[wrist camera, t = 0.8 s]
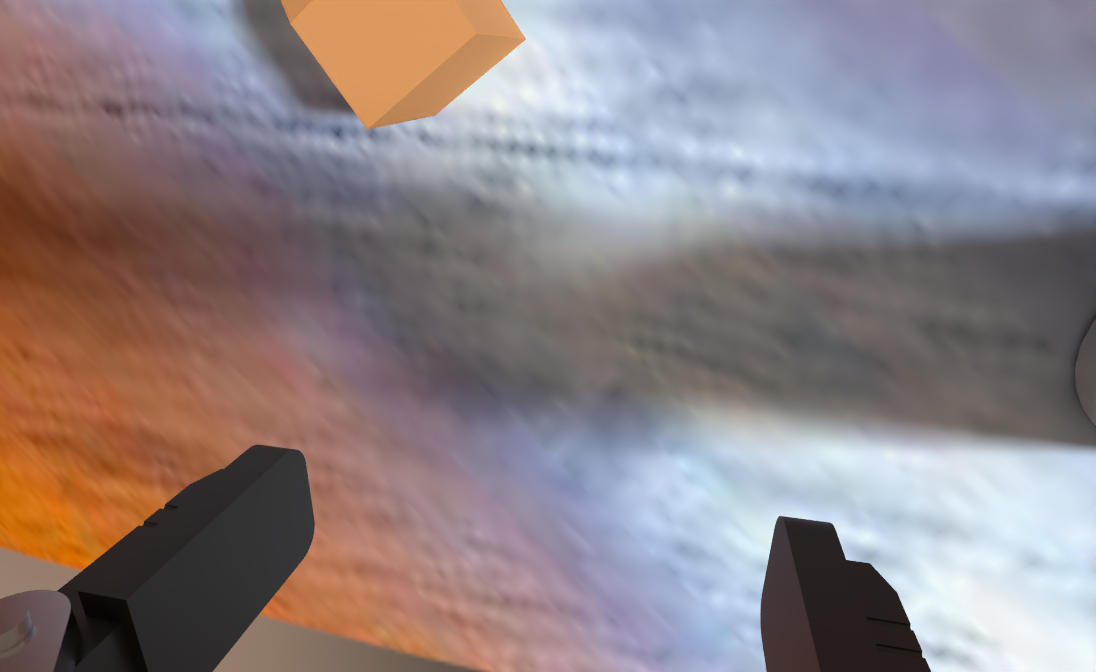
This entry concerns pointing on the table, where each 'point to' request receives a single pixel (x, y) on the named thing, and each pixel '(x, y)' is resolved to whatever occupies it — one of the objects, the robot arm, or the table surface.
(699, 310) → the table surface
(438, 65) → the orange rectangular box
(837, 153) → the table surface
